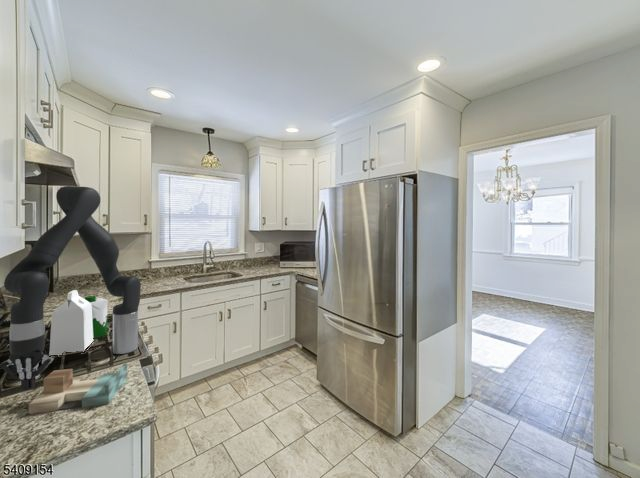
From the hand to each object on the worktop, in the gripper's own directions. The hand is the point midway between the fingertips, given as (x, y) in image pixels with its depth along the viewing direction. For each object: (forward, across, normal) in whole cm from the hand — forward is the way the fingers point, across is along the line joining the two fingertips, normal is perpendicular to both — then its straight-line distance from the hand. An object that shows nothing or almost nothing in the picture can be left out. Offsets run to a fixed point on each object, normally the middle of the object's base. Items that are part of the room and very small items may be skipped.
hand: (28, 388), depth 85 cm
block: (+1, -8, 0) cm, 8 cm away
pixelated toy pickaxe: (+4, -14, 0) cm, 15 cm away
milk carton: (+4, +6, -54) cm, 54 cm away
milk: (+4, +8, -39) cm, 40 cm away
